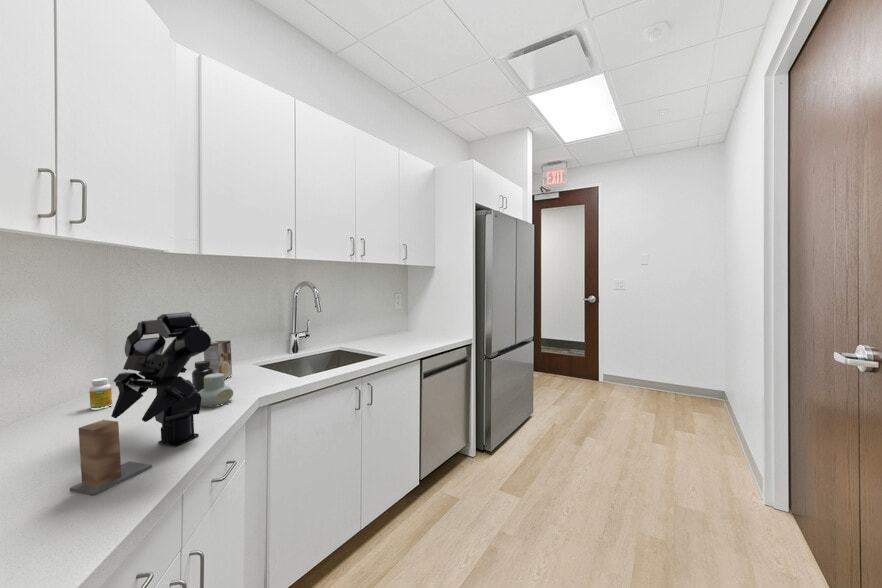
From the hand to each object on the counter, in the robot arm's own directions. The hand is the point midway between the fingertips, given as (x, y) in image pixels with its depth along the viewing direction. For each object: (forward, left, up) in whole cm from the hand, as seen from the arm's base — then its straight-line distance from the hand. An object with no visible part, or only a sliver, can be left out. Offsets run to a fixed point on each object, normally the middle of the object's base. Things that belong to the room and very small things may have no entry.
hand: (128, 419), depth 81 cm
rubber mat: (+4, 0, -12) cm, 12 cm away
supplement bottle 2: (-47, -33, -12) cm, 59 cm away
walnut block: (+6, 0, -11) cm, 12 cm away
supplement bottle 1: (-27, -54, -12) cm, 62 cm away
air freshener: (-39, -19, -12) cm, 45 cm away
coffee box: (-64, -44, -12) cm, 79 cm away
